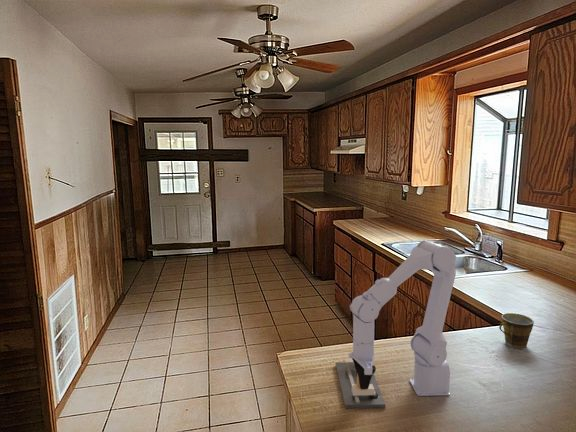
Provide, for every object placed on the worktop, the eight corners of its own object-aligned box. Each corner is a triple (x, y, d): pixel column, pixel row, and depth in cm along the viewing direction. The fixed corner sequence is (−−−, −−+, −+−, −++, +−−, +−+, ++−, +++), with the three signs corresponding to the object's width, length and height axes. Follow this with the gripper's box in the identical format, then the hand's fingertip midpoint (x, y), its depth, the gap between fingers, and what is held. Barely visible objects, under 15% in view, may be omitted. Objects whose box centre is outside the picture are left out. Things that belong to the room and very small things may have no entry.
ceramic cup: (514, 336, 146) (516, 311, 145) (538, 348, 137) (540, 322, 135) (487, 342, 142) (488, 316, 141) (510, 355, 133) (512, 327, 131)
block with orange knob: (374, 390, 111) (374, 370, 110) (376, 396, 108) (377, 376, 107) (351, 390, 111) (351, 370, 110) (353, 397, 108) (353, 376, 107)
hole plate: (368, 365, 128) (368, 353, 127) (385, 408, 106) (385, 394, 105) (335, 365, 128) (335, 354, 127) (345, 408, 106) (345, 394, 105)
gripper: (345, 328, 114) (344, 370, 116) (353, 352, 100) (353, 400, 102) (369, 327, 114) (368, 370, 116) (380, 352, 100) (379, 400, 102)
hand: (362, 384), depth 109 cm, fingers closed on block with orange knob, 3 cm apart
